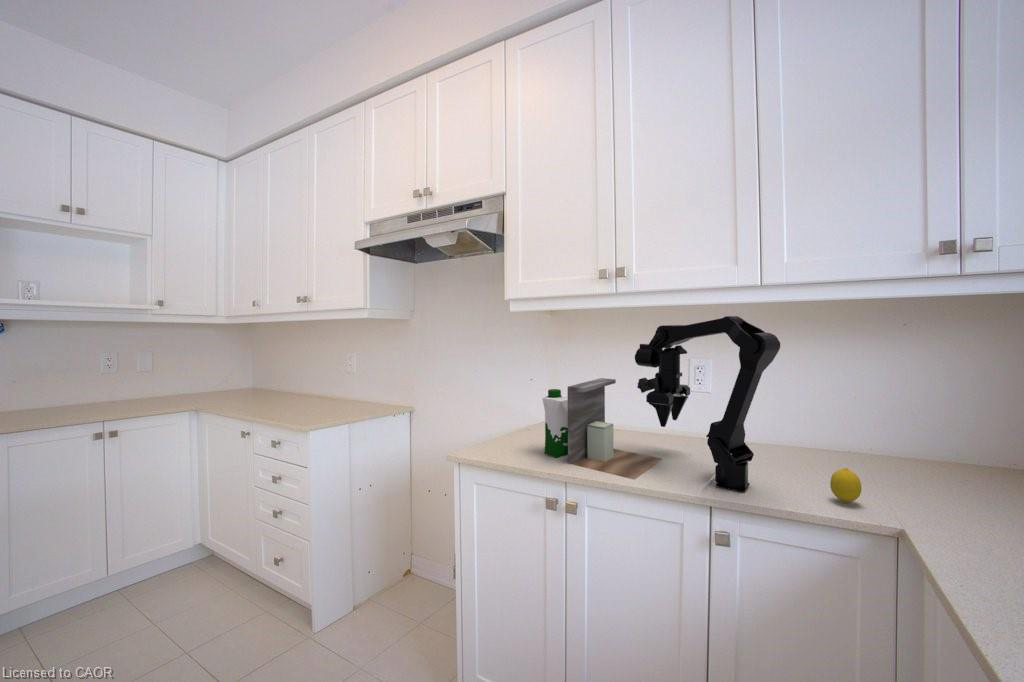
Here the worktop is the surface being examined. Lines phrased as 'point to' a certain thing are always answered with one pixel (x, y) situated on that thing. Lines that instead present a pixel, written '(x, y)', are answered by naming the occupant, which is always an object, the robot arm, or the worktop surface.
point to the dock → (590, 408)
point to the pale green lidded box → (600, 441)
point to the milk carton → (556, 423)
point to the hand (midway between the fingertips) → (669, 423)
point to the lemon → (845, 485)
